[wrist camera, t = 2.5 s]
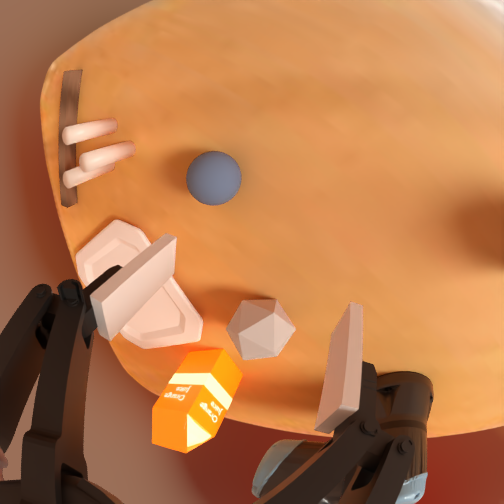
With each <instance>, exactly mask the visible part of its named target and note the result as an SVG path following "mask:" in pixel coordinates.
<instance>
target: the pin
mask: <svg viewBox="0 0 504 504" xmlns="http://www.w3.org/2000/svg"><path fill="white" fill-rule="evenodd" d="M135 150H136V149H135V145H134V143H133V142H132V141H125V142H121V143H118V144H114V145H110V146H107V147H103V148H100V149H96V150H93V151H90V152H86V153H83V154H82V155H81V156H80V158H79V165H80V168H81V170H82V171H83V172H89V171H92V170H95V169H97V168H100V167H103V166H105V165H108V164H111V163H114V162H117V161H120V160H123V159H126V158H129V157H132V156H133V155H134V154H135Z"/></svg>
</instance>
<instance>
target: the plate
mask: <svg viewBox="0 0 504 504" xmlns="http://www.w3.org/2000/svg"><path fill="white" fill-rule="evenodd" d="M150 245H151V243H150V242H149V240H148V238H147V237H146V235H145V234H144V232H143V231H142V230H141V229H140V228H137V227H135V226H133V225H130V224H128V223H126V222H123V221H121V220H119V219H117V220H114V221H112V222H111V223H110V224H109V225H108V226H107V227H105V228H104V229H103V230H102V231H101V232H100V233H98V234H97V235H96V236H95V237H94V238H93V239H92V240H91V241H89V242H88V243H87V244H86V245H85V246H84V247H83V248H82V249H81V250H80V251H79V252H78V253H76V263H77V268H78V274H79V276H80V278H81V280H82V281H83V283H84V284H85V286H86V287H87V286H88V285H89V284H90V283H92V282H93V281H94V280H95V279H96V278H98V277H99V276H100V275H101V274H103V273H104V272H105V271H106V270H107V269H109V268H111V267H113V266H116V265H120V266H122V267H124V266H125V265H126V264H128V263H129V262H130V261H131V260H132V259H134V258H135V257H136V256H137V255H139V254H140V253H141V252H142V251H144V250H145V249H146V248H147V247H149V246H150ZM202 327H203V319H202V317H201V316H200V315H199V313H198V312H197V310H196V309H195V308H194V306H193V305H192V304H191V302H190V301H189V299H188V298H187V297H186V295H185V294H184V292H183V291H182V289H181V288H180V287H179V285H178V284H177V282H176V281H175V279H174V278H173V276H171V277H170V278H169V279H168V280H167V281H166V282H165V283H164V284H163V286H162V287H161V288H160V289H159V290H158V291H157V292H156V293H155V294H154V295H153V296H152V297H151V298H150V299H149V300H148V301H147V302H146V303H145V304H144V305H143V307H142V308H141V309H140V310H139V311H138V312H137V313H136V314H135V315H134V316H133V317H132V318H131V319H130V320H129V322H128V323H127V324H126V325H125V326H124V327H123V328H122V329H121V330H120V331H119V332H120V333H121V334H122V335H123V337H124V338H125V339H127V340H128V341H130V342H132V343H134V344H135V345H137V346H139V347H140V348H143V349H150V348H158V347H165V346H172V345H178V344H185V343H191V342H197V341H199V340H200V339H201V333H202Z"/></svg>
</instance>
